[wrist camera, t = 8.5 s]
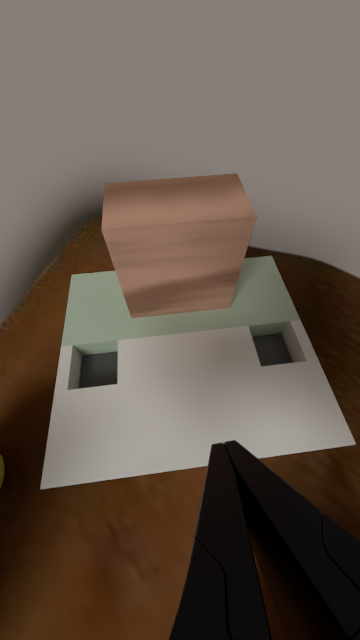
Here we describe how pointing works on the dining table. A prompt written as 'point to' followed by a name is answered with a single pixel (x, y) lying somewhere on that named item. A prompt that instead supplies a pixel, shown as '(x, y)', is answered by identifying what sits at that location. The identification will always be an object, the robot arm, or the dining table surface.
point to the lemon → (1, 470)
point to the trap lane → (184, 382)
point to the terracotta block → (177, 241)
